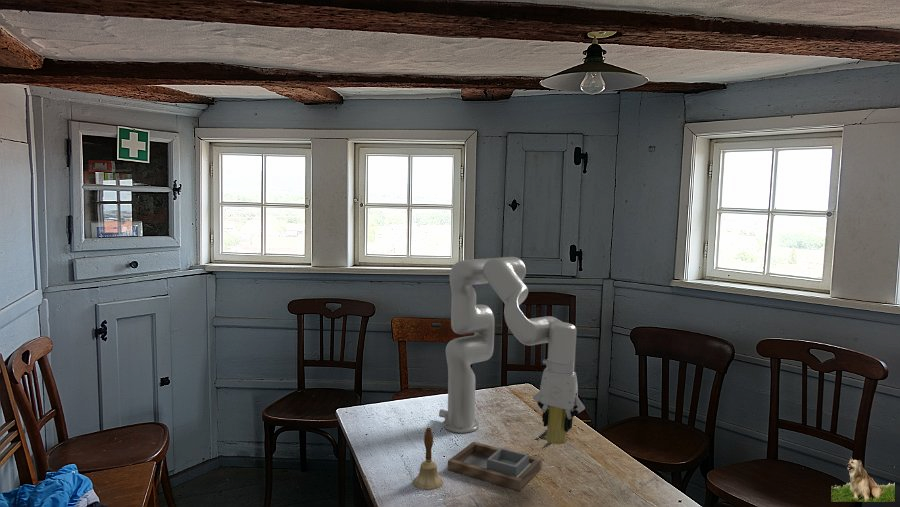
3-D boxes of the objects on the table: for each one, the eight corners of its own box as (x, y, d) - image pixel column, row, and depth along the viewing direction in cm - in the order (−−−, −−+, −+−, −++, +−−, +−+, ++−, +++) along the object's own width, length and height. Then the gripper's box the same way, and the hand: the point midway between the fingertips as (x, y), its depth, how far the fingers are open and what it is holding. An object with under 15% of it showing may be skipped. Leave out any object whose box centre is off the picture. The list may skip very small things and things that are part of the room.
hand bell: (446, 487, 159) (447, 432, 157) (417, 491, 156) (417, 435, 155) (438, 474, 166) (439, 420, 165) (410, 477, 164) (411, 423, 163)
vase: (568, 437, 167) (571, 390, 165) (565, 446, 161) (568, 397, 159) (547, 433, 169) (550, 387, 167) (543, 442, 163) (546, 394, 161)
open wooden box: (447, 470, 169) (447, 460, 168) (473, 450, 182) (473, 441, 182) (519, 491, 157) (520, 481, 157) (541, 468, 171) (541, 459, 170)
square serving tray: (481, 474, 165) (481, 460, 165) (499, 458, 175) (500, 445, 175) (516, 484, 160) (517, 470, 159) (533, 467, 170) (533, 453, 169)
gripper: (527, 364, 163) (523, 424, 165) (586, 376, 155) (582, 440, 157) (537, 357, 170) (533, 416, 172) (594, 369, 161) (590, 430, 163)
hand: (556, 427), depth 164 cm, fingers closed on vase, 5 cm apart
